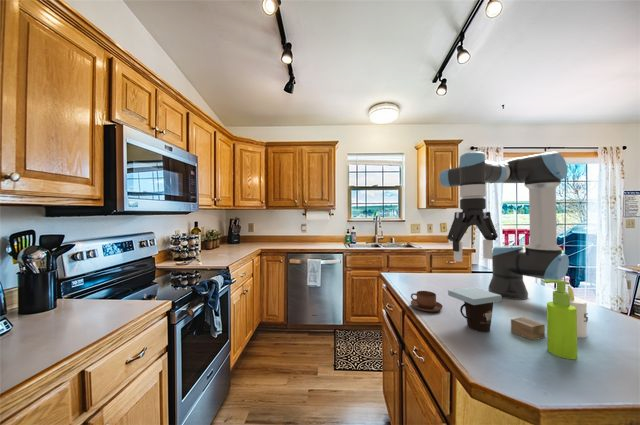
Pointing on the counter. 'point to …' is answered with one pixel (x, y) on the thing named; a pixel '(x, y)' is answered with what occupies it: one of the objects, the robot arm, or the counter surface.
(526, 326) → the block
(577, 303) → the white bottle
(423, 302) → the cup and saucer
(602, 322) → the counter surface
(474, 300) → the lid
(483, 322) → the coffee mug
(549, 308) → the soap dispenser
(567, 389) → the counter surface
